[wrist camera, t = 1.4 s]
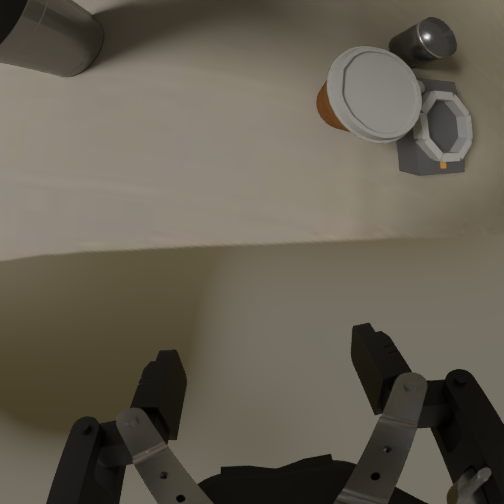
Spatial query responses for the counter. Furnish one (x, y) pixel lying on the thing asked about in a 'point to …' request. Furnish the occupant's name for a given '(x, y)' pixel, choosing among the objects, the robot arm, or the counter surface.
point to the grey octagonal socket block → (436, 132)
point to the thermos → (424, 42)
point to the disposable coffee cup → (370, 95)
